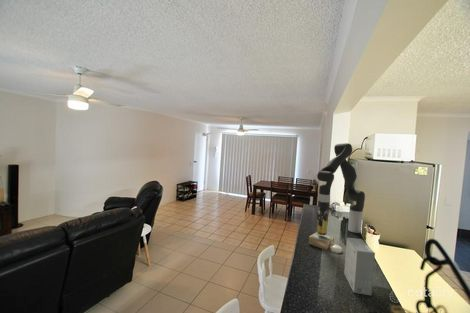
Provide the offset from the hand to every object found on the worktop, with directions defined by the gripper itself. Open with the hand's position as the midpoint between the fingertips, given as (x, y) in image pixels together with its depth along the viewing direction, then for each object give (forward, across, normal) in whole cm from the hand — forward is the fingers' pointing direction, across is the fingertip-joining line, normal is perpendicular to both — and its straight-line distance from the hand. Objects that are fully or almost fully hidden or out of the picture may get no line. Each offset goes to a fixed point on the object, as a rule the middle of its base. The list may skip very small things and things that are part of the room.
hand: (322, 224), depth 145 cm
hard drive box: (+14, +29, +30) cm, 44 cm away
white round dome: (+14, +1, +10) cm, 17 cm away
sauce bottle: (+7, 0, 0) cm, 7 cm away
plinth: (+14, 0, 0) cm, 14 cm away
